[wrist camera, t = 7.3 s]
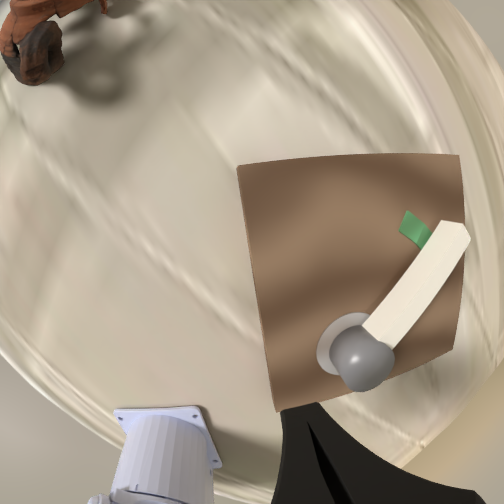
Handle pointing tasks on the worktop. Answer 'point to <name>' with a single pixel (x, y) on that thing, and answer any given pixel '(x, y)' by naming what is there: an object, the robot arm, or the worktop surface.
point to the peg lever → (397, 311)
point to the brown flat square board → (344, 258)
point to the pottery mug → (36, 37)
